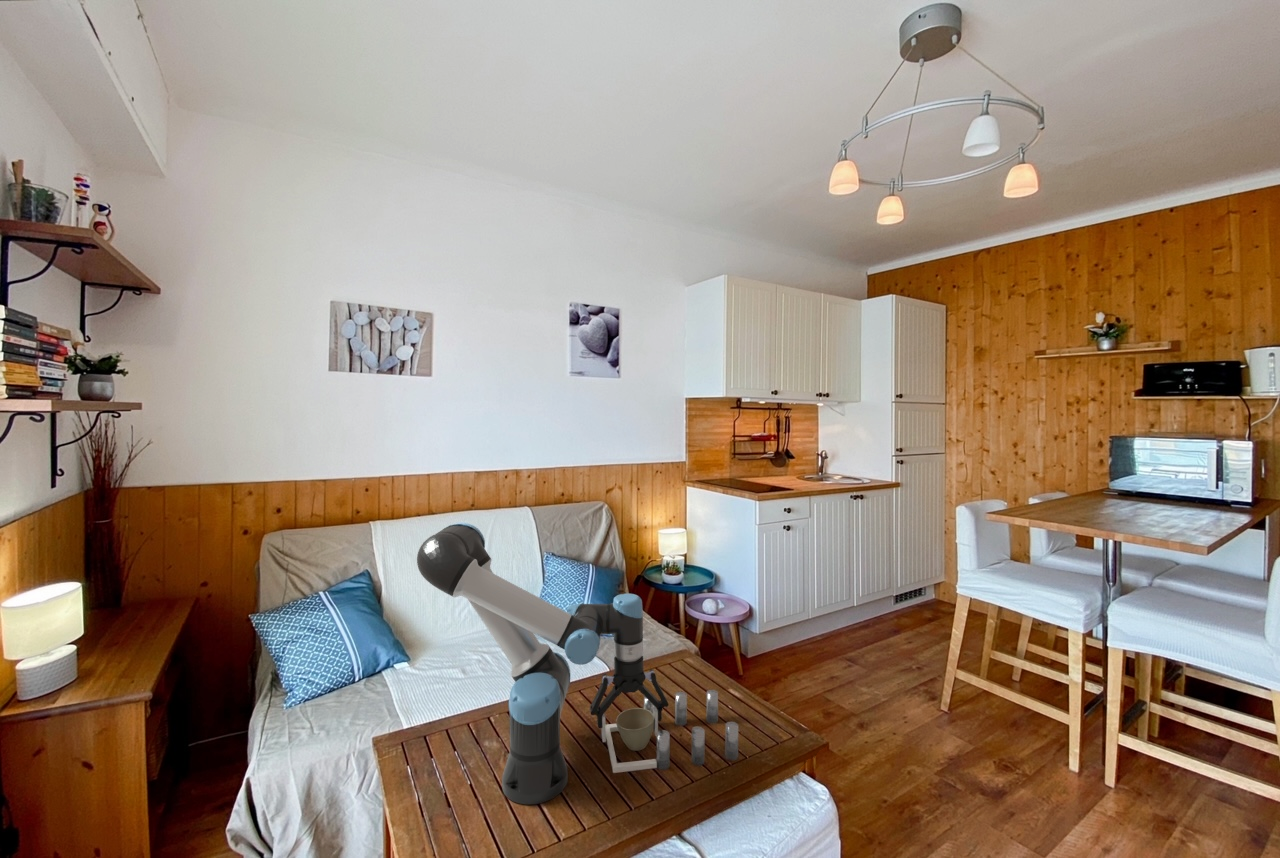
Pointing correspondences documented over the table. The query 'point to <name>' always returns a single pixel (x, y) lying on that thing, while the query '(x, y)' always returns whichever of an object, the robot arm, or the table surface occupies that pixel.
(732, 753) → the spacers
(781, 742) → the table surface
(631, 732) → the flower pot
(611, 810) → the table surface
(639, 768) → the frame
